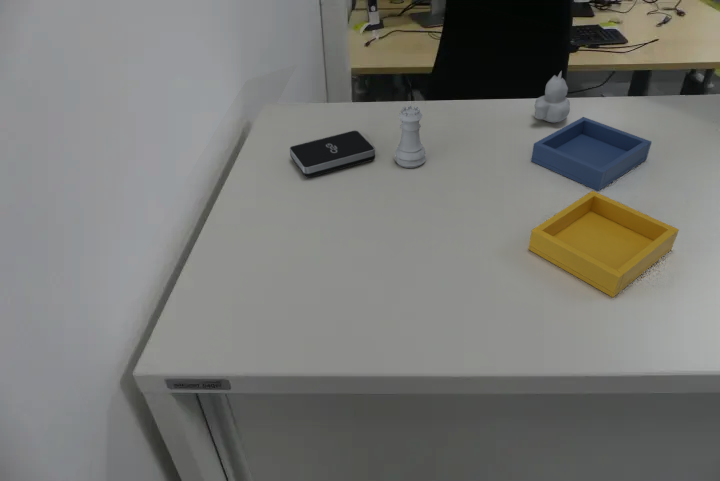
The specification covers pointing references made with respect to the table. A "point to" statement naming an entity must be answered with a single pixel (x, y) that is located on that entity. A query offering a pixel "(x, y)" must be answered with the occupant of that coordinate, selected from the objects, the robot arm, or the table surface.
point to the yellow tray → (602, 242)
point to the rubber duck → (553, 101)
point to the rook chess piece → (410, 139)
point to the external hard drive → (332, 153)
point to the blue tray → (590, 152)
